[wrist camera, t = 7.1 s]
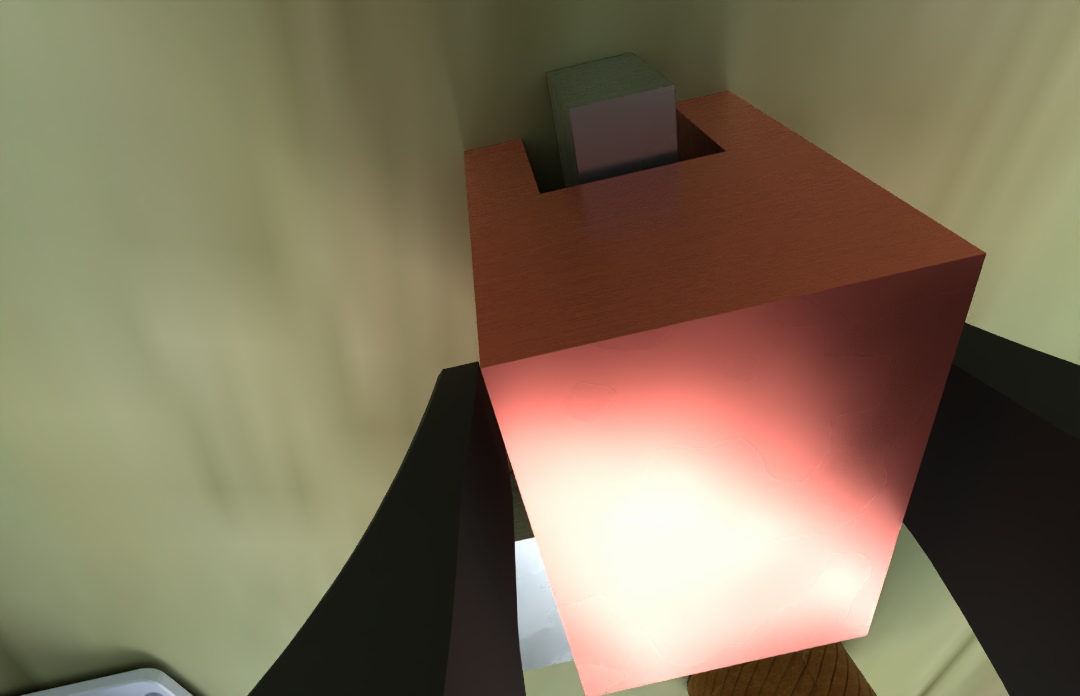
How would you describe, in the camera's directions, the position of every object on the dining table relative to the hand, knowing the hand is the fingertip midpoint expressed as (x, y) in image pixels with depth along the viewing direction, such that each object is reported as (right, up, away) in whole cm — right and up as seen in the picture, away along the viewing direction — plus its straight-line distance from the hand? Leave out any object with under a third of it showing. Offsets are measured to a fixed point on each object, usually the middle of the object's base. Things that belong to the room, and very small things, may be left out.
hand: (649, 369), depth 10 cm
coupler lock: (0, +1, +2) cm, 3 cm away
